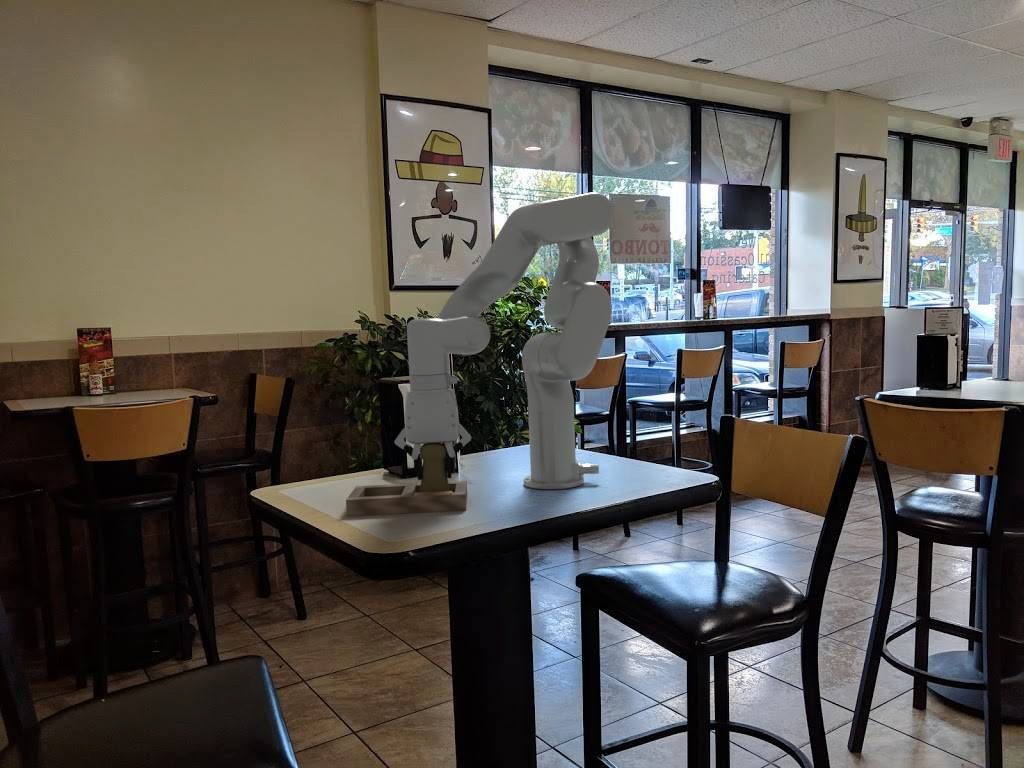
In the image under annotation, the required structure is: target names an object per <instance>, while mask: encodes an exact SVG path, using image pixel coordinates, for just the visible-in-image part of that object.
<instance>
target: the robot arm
mask: <svg viewBox="0 0 1024 768" xmlns="http://www.w3.org/2000/svg"><path fill="white" fill-rule="evenodd" d="M614 218H615V209H614V206H613V204H612V202H611V200H610V199H609V198H608V197H607V196H606V195H604V194H602V193H600V192H588V193H584V194H578V195H574V196H568V197H563V198H556V199H549V200H543V201H539V202H535V203H531V204H528V205H524V206H520V207H518V208H516V209H515V210H513V212H511V214H510V215H509V216H508V217H507V219H506V220H505V222H504V223H503V226H502V227H501V229H500V231H499V232H498V234H497V236H496V237H495V239H494V240H493V243H492V244H491V246H490V247H489V249H488V250H487V253H485V255H484V257H483V259H482V260H481V262H480V263H479V265H477V267H476V268H475V269H474V270H473V271H472V272H471V273H470V274H469V275H468V276H467V277H466V278H465V280H464V281H463V282H462V283H461V284H460V285H459V286H458V287H457V288H456V289H455V291H454V292H453V293H452V294H451V295H450V296H449V298H448V300H446V302H445V304H444V306H443V307H442V309H441V310H440V313H439V314H438V316H437V317H435V318H434V317H433V318H429V317H428V318H416V319H412V320H410V321H409V322H408V323H407V325H406V335H407V336H406V337H407V352H408V354H407V355H408V370H409V371H408V373H409V387H410V389H409V391H407V392H406V398H405V410H404V419H405V420H404V423H405V425H404V428H402V429H401V431H400V432H399V434H398V435H397V437H396V438H395V440H394V441H393V442H394V444H395V445H396V446H397V447H399V448H400V449H402V450H403V451H404V452H405V453H406V454H407V455H408V456H410V457H411V459H413V470H414V471H413V474H414V476H417V480H418V481H421V479H422V467H423V459H422V458H421V456H420V448H421V446H422V445H423V444H428V443H443V444H445V446H446V448H447V456H446V458H445V462H446V472H447V478H448V479H452V475H453V474H455V473H456V468H455V467H456V465H455V457H456V455H457V454H459V452H460V451H461V450H462V448H463V447H465V446H466V445H467V444H468V443H469V442H470V441H471V440H472V436H471V434H470V433H469V432H468V431H467V430H466V429H465V428H464V427H463V426H462V424H461V423H460V419H459V410H458V402H457V396H456V391H455V389H453V388H451V386H452V385H454V384H457V383H458V376H454V375H451V374H450V364H449V363H450V362H449V355H451V354H452V355H453V354H454V355H462V356H463V355H467V356H471V355H476V354H479V353H480V352H482V351H483V350H485V348H487V346H488V344H489V343H490V340H491V330H490V328H489V325H488V324H487V323H486V322H485V320H483V319H482V318H480V317H479V316H480V315H481V314H482V313H483V312H484V311H485V310H486V309H487V308H488V307H489V306H490V305H493V303H495V302H496V301H498V300H500V299H502V298H504V297H505V296H506V295H508V294H509V293H511V292H512V291H513V290H515V289H516V288H517V286H518V285H519V284H520V282H521V280H522V278H523V277H524V275H525V273H526V271H527V270H528V268H529V266H530V265H531V264H532V261H533V260H534V258H535V257H536V255H537V253H538V251H539V250H540V248H541V247H547V246H552V245H557V248H558V253H559V254H558V255H559V257H558V263H557V266H556V267H557V268H556V272H555V274H554V276H553V280H552V283H551V285H550V288H549V291H548V295H547V297H546V300H545V302H544V307H543V315H544V319H545V321H546V322H547V324H549V325H550V326H551V327H552V328H555V329H557V330H558V329H559V330H562V331H559V332H558V331H557V332H553V331H552V332H540V333H537V334H535V335H533V336H532V337H530V338H529V339H528V340H527V341H526V343H525V344H524V346H523V349H522V353H521V364H522V369H523V374H524V379H525V383H526V393H527V407H528V408H527V409H528V411H527V413H528V432H529V433H528V434H529V435H528V437H529V440H528V441H529V457H530V458H529V460H530V463H529V464H530V475H527V476H525V477H524V478H523V485H524V486H526V487H527V488H531V489H535V490H536V489H537V490H563V489H571V488H575V487H579V486H581V485H583V484H584V483H585V477H584V475H585V474H586V475H588V474H590V475H596V474H599V472H600V469H599V464H598V463H597V464H591V463H585V464H583V463H579V461H578V460H577V459H576V458H577V457H576V434H575V433H576V432H575V430H576V428H575V399H574V393H573V389H572V386H571V382H572V381H579V380H583V379H584V378H586V377H587V376H588V375H589V374H590V373H592V370H593V369H594V367H595V365H596V363H597V360H598V358H599V355H600V352H601V350H602V349H601V348H602V346H603V343H604V340H605V337H606V335H607V331H608V328H609V325H610V322H611V318H612V310H613V309H612V308H613V307H612V306H613V304H612V300H611V296H610V294H609V292H608V291H607V289H606V288H605V287H603V285H601V284H599V283H596V280H597V276H598V273H599V267H600V257H599V254H598V251H597V248H596V245H595V243H594V241H593V239H592V237H595V236H600V235H602V234H605V232H607V231H608V230H609V229H610V227H612V224H613V222H614ZM570 381H571V382H570ZM459 436H461V437H462V438H461V439H460V440H459V441H457V440H458V439H459ZM405 440H406V441H405ZM455 441H457V442H456V444H455V445H454V442H455ZM407 442H408V443H407ZM411 444H412V445H413V446H412V445H411Z"/></svg>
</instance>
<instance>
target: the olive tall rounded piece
mask: <svg viewBox="0 0 1024 768" xmlns="http://www.w3.org/2000/svg"><path fill="white" fill-rule="evenodd" d="M419 454H420V456H421V458H422V479H421V480H420V483H421V488H420V493H422V492H442V491H450V490H449V484H448V482H449V478H447V465H446V458H447V454H448V451H447V448H446V446H445V443H428V444H421V448H420V452H419Z"/></svg>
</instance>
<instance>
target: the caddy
mask: <svg viewBox="0 0 1024 768" xmlns="http://www.w3.org/2000/svg"><path fill="white" fill-rule="evenodd" d="M448 484H449V490H450V491H442V492H422V493H420V488H421V482H416V483H415V482H413V483H412V482H411V483H395V484H394V483H393V484H375V485H374V484H373V485H356V486H355V487H354V489H353V490H352V491H351V493H350V494H349V495H348V497H347V498H346V499H345V508H346V516H347V517H354V516H355V517H357V516H358V517H359V516H375V515H391V514H392V515H395V514H397V515H398V514H413V513H414V514H416V513H432V512H433V513H434V512H435V513H436V512H452V511H455V512H456V511H467V504H468V482H467V480H457V481H456V480H455V481H454V480H453V481H448Z"/></svg>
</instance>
